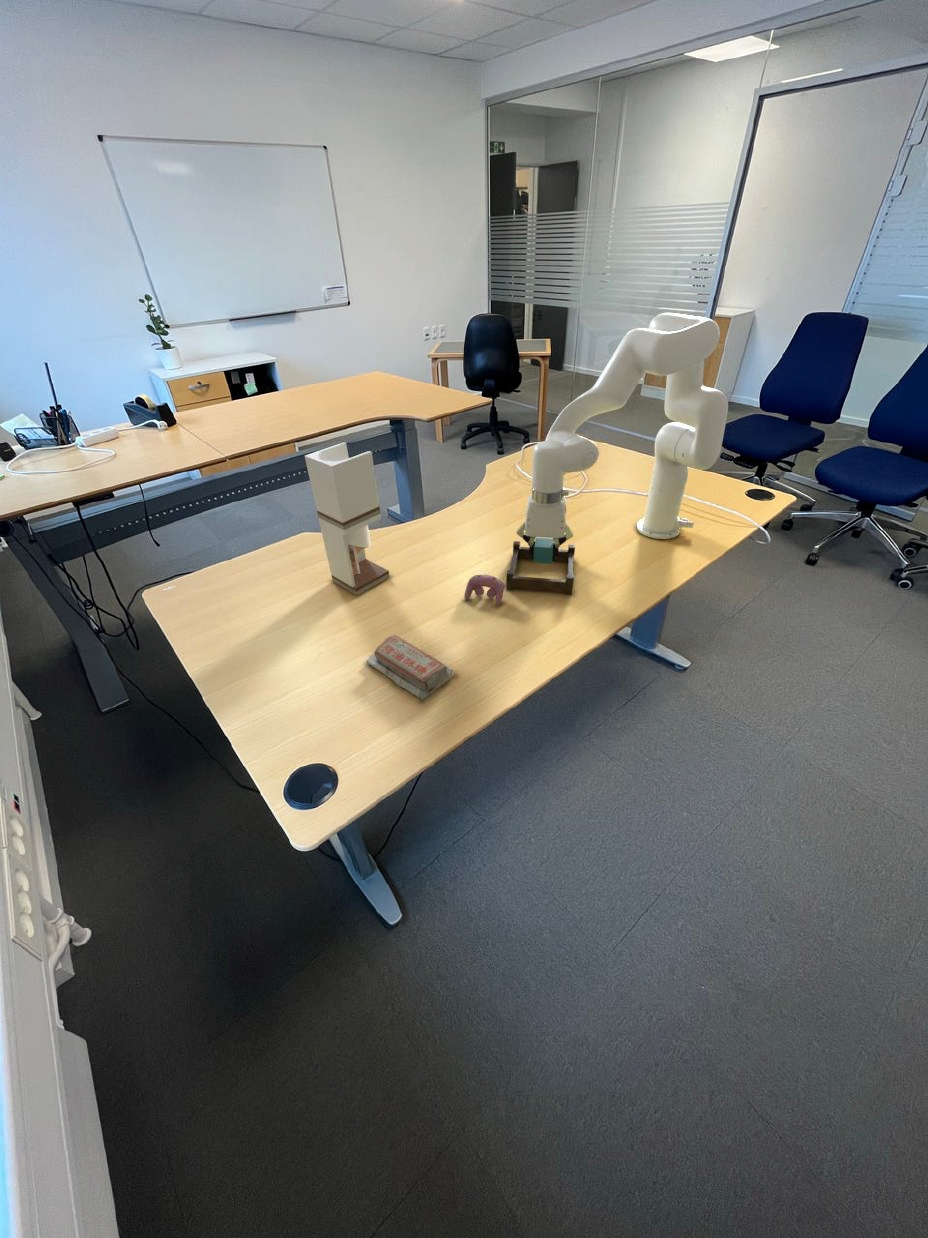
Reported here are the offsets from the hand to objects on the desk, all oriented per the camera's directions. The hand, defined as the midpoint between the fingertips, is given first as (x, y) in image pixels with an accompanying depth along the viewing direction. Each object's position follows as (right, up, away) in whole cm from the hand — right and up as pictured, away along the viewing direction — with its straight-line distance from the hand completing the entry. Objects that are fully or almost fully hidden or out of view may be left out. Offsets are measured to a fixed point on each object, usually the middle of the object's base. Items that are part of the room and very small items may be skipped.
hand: (543, 556), depth 138 cm
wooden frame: (0, -4, +3) cm, 5 cm away
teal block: (0, 0, 0) cm, 0 cm away
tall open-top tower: (-50, -6, +4) cm, 50 cm away
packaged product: (-33, -28, -25) cm, 50 cm away
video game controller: (-16, -11, -5) cm, 20 cm away
